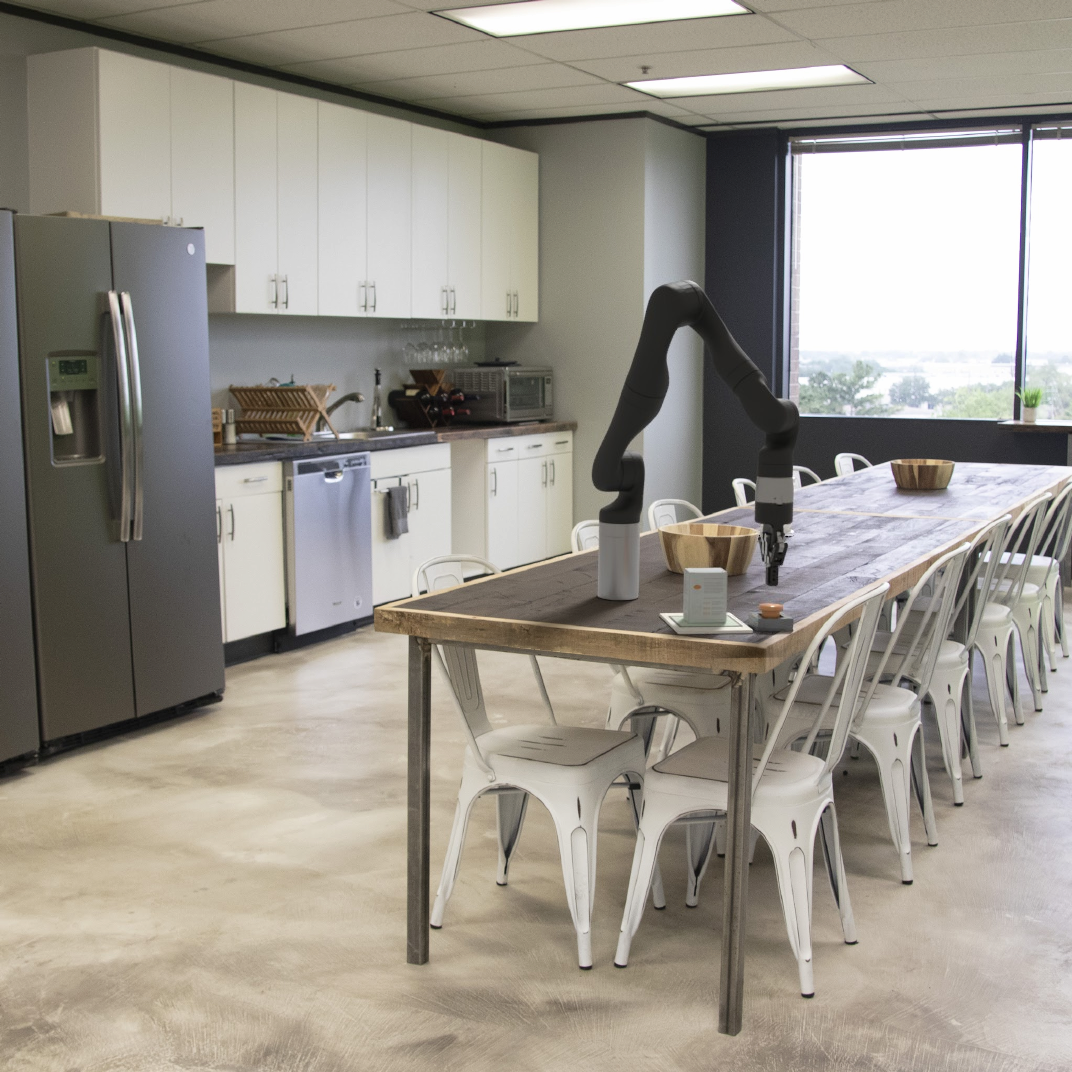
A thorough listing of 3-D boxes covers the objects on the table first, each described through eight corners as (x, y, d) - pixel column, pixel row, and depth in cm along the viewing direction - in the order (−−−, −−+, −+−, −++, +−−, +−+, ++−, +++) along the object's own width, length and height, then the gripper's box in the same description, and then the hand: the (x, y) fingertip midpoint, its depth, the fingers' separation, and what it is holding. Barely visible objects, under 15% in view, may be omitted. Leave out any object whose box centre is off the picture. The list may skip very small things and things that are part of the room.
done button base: (748, 624, 260) (748, 612, 260) (782, 623, 261) (782, 611, 260) (757, 631, 253) (758, 619, 253) (793, 631, 254) (793, 618, 253)
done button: (755, 618, 259) (756, 603, 258) (778, 617, 259) (779, 603, 259) (762, 622, 254) (762, 608, 254) (785, 622, 255) (786, 607, 254)
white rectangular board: (659, 616, 267) (659, 612, 267) (729, 615, 269) (729, 611, 269) (678, 634, 250) (678, 630, 250) (752, 633, 251) (753, 629, 251)
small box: (720, 617, 263) (722, 567, 261) (726, 623, 257) (728, 571, 256) (682, 618, 262) (683, 567, 261) (687, 623, 257) (689, 571, 255)
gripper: (746, 496, 259) (744, 580, 262) (765, 502, 246) (762, 591, 248) (782, 496, 260) (780, 580, 262) (802, 502, 247) (800, 590, 249)
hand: (771, 585), depth 255 cm, fingers closed
